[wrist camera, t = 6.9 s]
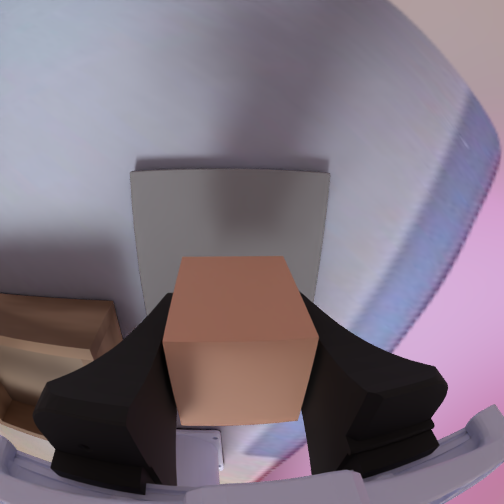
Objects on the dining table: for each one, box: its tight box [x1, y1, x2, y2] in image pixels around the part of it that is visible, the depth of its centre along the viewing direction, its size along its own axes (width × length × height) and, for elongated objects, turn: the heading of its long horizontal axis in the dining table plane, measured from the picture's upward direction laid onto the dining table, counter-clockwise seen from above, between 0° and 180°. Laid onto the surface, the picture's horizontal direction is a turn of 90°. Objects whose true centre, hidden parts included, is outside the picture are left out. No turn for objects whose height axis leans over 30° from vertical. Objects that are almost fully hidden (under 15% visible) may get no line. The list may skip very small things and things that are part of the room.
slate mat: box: [130, 168, 330, 316], centre depth 16 cm, size 10×10×1 cm
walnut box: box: [0, 293, 123, 440], centre depth 16 cm, size 13×16×4 cm
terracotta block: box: [162, 256, 319, 426], centre depth 10 cm, size 4×4×5 cm
